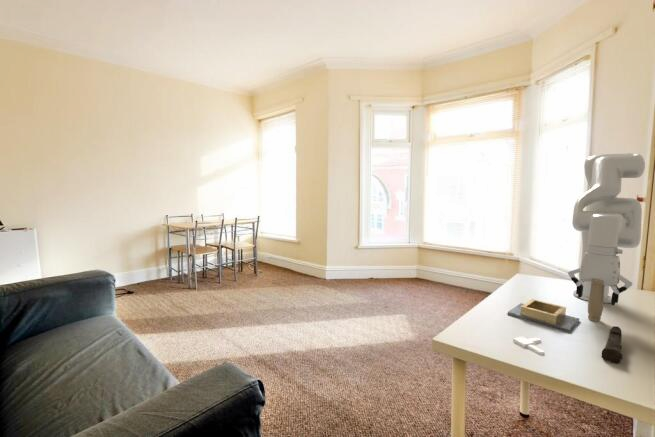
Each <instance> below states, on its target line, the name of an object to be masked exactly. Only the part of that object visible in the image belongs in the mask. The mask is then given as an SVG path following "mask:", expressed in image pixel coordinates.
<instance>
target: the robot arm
mask: <svg viewBox="0 0 655 437" xmlns="http://www.w3.org/2000/svg"><path fill="white" fill-rule="evenodd" d="M583 169H584V170H583V171H584V174H585V178H586V181H587V184H588V187H589V190H587V191H586V192H584V193H583V194H581V195H580V196H579V198H578V199H577V200H576V202H575V204H574V207H573V213H572V220H571V221H572V227H573V229H575V230H576V231H578V232H581V241H582V244H581V246H582V250H581V262H580V267H579V268H576V269H573V270H570V271H568V272H567V274H568V276H569V278H570V280H571V281H572V282H573V283H574V284H575V286H576V290H574V291H573V295H574V296H575V297H577V298H578V299H581V300H584V301H587V302H588V301H589V296H590V290H591V283H592V282H591V280H592V278H594V279H599V280H603V281H604V284H602V285H605V286H604V299H603V304H610V305H612V306H615V304H618V302H619V298H620V297H619V296H620V294H621V293H623V292H626V291H627V290H628V289H630V287H632V286H633V284H634V283H633V282H632V281H630V280H629V279H628V278H626V277H625V276H623V275H621V261H620V260H621V259H620V256H619V255H620V254H623V252H624V250H623V249H634V248H637V247H638V246H640V243H641V237H642V236H641V235H642V216H643V214H642V213H643V212H642V204H641V202H640V201H639V199H636V198H631V197H618V196H619V194H620V193H621V191H622V179H636V178H637V179H638V178H640V177H642V176H643V174H644V172H645V169H646V162H645V158H644V157H643V155H641V154H640V153H637V152H633V153H631V152H630V153H629V152H628V153H627V152H626V153H605V154H604V153H603V154H594V155H591V156H589V157H587V158H586V159H585V161H584V168H583ZM586 207H588V209H587V210H584V209H585V208H586ZM620 248H621V249H620ZM578 273H579V274H578ZM576 274H578V278H579V279H578V278H577V277H576ZM620 281H621V282H622V283H624V285H623V286H621V287H619V286H618V284H619V283H620ZM595 282H597V280H595ZM610 288H611V290H612V291H613V292H612V294H611V296H610V295H609V294H610V293H609V292H610Z"/></svg>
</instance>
